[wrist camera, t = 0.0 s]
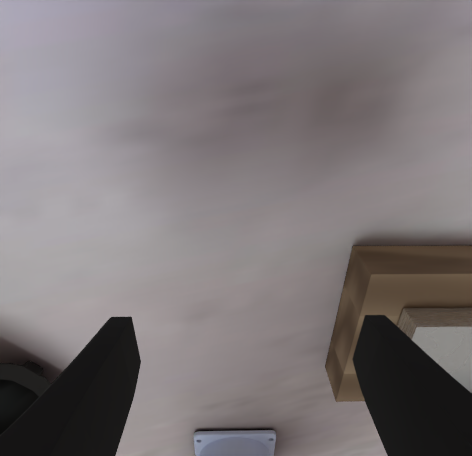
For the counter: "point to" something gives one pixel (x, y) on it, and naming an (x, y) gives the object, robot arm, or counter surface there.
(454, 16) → the counter surface
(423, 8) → the counter surface
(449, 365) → the grey stepped block
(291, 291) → the counter surface
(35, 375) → the muzzle brake
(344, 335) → the socket plate
